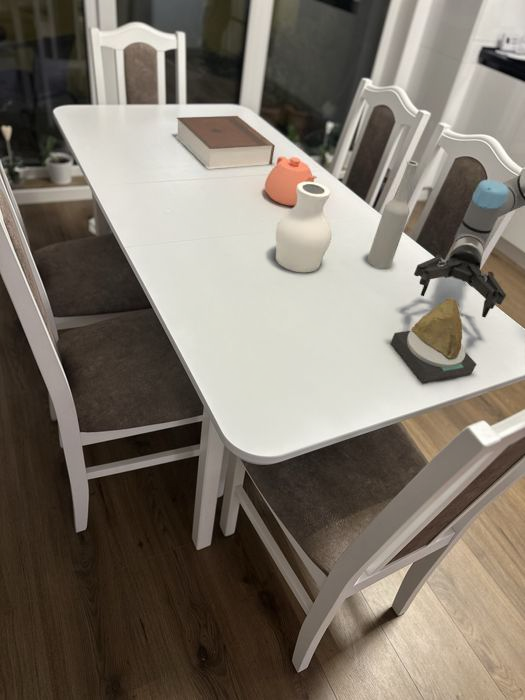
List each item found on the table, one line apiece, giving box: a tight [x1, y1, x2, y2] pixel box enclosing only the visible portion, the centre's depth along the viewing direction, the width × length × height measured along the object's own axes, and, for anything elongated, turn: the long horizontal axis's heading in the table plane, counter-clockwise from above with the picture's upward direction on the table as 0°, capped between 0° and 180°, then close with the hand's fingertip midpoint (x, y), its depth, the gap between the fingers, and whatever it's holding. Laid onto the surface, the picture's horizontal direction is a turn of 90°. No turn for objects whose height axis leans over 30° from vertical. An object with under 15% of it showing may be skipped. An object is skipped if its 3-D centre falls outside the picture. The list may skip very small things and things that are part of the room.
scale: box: [390, 329, 478, 384], centre depth 118 cm, size 13×13×4 cm
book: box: [175, 115, 276, 170], centre depth 189 cm, size 24×28×6 cm
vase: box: [275, 181, 333, 274], centre depth 136 cm, size 14×14×20 cm
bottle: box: [367, 160, 419, 270], centre depth 139 cm, size 7×7×28 cm
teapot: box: [264, 155, 318, 207], centre depth 165 cm, size 22×16×12 cm
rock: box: [410, 297, 463, 359], centre depth 114 cm, size 11×9×10 cm
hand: (454, 301), depth 116 cm, fingers open, 13 cm apart
